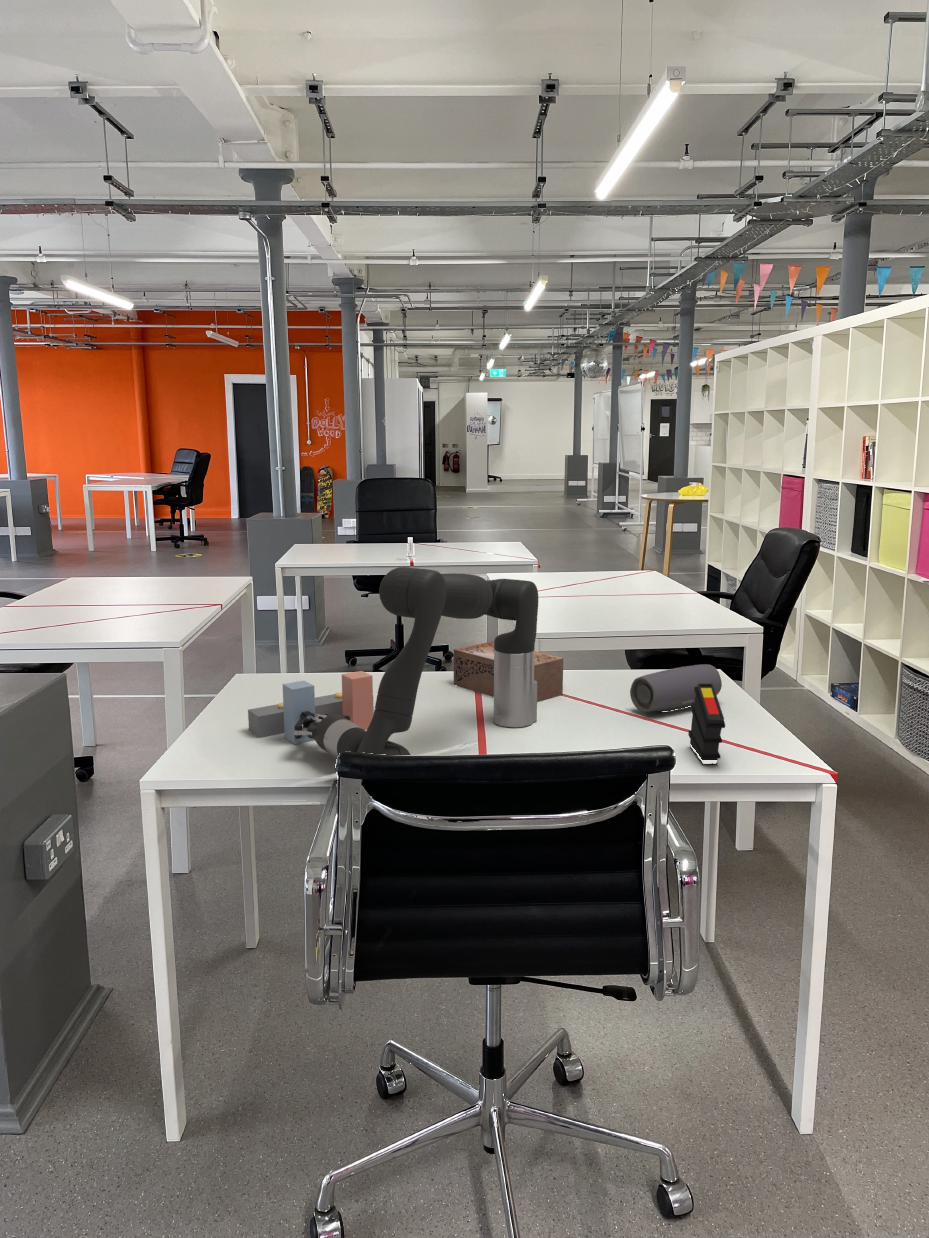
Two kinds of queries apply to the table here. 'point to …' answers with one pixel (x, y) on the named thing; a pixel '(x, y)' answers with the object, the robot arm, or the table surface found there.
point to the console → (272, 717)
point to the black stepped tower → (706, 722)
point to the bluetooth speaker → (672, 687)
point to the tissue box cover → (479, 671)
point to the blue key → (297, 707)
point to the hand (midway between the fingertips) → (304, 716)
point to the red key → (358, 697)
